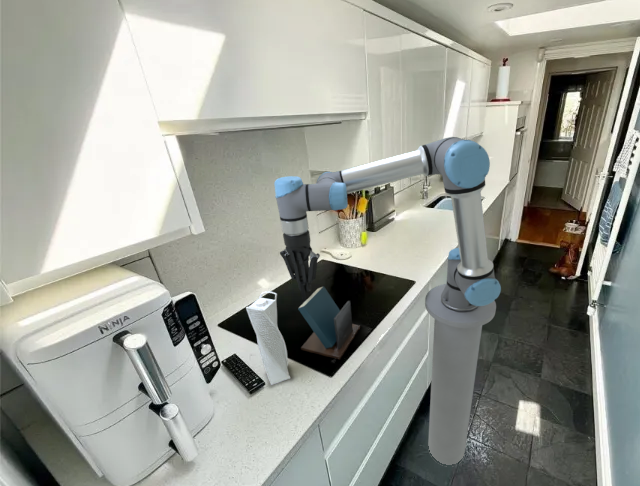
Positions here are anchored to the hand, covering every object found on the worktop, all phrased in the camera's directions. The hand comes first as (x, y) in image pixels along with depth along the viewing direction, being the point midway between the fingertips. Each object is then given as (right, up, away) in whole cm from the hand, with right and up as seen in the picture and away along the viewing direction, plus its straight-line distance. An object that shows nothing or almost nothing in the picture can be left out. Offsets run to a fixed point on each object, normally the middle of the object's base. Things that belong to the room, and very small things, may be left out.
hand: (306, 298), depth 100 cm
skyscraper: (-5, -21, -10) cm, 24 cm away
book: (+10, -13, +3) cm, 16 cm away
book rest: (+8, -14, +4) cm, 17 cm away
